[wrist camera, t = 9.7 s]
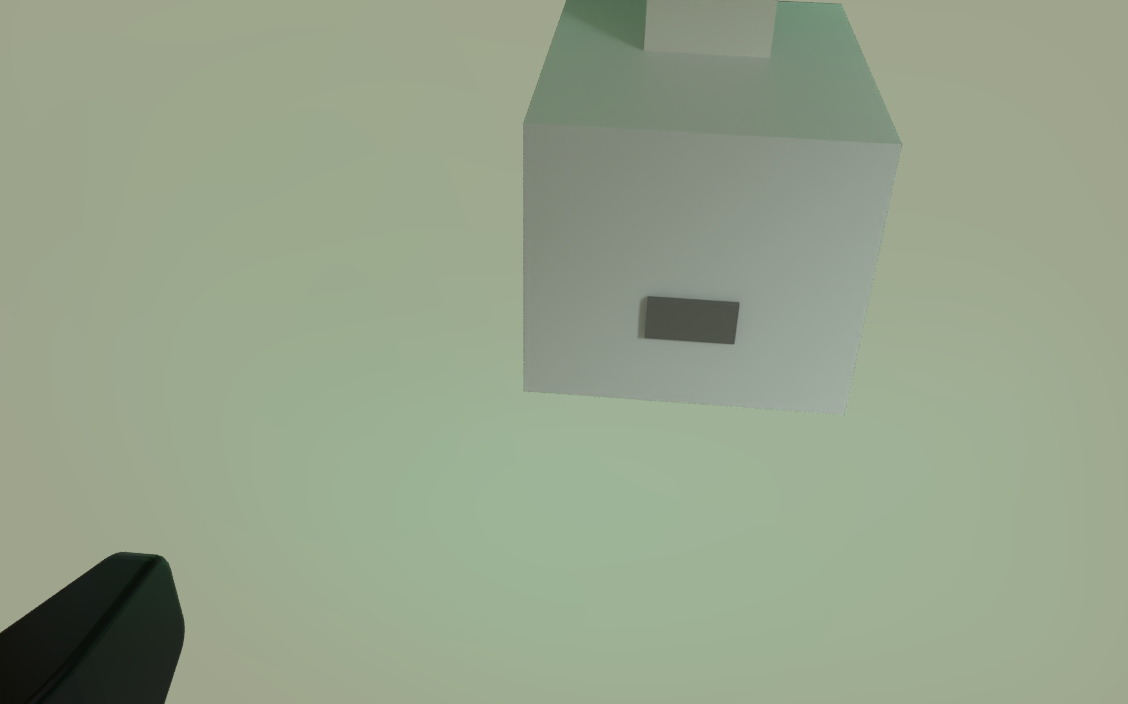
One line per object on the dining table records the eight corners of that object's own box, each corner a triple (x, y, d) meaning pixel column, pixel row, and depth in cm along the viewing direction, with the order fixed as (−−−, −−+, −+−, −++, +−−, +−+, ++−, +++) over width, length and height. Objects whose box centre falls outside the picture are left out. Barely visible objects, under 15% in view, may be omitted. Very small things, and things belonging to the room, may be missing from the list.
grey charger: (860, -114, 16) (937, -10, 11) (805, 221, 20) (845, 419, 15) (572, -125, 17) (522, -29, 12) (565, 206, 20) (522, 395, 15)
